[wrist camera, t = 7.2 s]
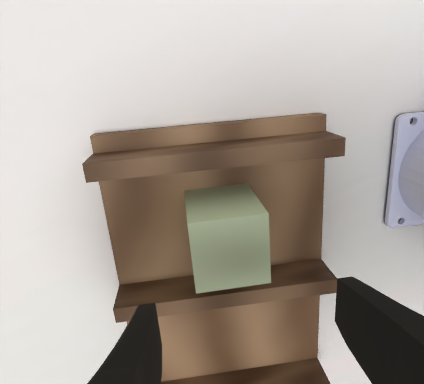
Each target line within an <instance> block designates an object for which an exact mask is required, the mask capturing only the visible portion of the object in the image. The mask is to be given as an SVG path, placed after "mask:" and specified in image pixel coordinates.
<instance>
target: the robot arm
mask: <svg viewBox="0 0 424 384" xmlns="http://www.w3.org/2000/svg"><path fill="white" fill-rule="evenodd" d="M411 118H413V122H412V123H411V124H410V119H411ZM400 218H401V220H400V221H399V222H398V220H399V219H400ZM385 224H386V225H387V226H389V227H390V228H397V227H405V226H413V225H422V224H424V112H414V113H403V114H400V115H399V116H398V117H397V118H396V121H395V129H394V139H393V148H392V158H391V167H390V177H389V186H388V196H387V205H386V215H385ZM335 322H336V324H337V326H338V328H339V330H340V332H341V335H342V337H343V338H344V340H345V342H346V344H347V346H348V348H349V349H350V351H351V352H352V354H353V355H354V357H355V358H356V360H357V362H358V363H359V365H360V366H361V368H362V369H363V371H364V372H365V374H366V375H367V377H368V378H369V380H370V381H371V383H372V384H424V316H423V315H421V314H419V313H417V312H415V311H413V310H411V309H409V308H407V307H405V306H404V305H402V304H400V303H398V302H396V301H394V300H393V299H391V298H389V297H387V296H386V295H384V294H382V293H380V292H379V291H377V290H375V289H374V288H372V287H370V286H368V285H367V284H365V283H363V282H361V281H360V280H358V279H356V278H354V277H346V278H338V279H337V293H336V311H335ZM161 378H162V341H161V335H160V329H159V322H158V316H157V310H156V304H155V303H149V304H141V305H139V306H138V307H137V308H136V310H135V312H134V314H133V316H132V318H131V320H130V322H129V323H128V325H127V327H126V329H125V330H124V332H123V334H122V335H121V337H120V339H119V340H118V342H117V343H116V345H115V347H114V348H113V350H112V351H111V352H110V354H109V355H108V357H107V358H106V360H105V361H104V363H103V364H102V365H101V367H100V368H99V369H98V371H97V372H96V373H95V375H94V376H93V377H92V379H91V380H90V381H89V382H88V383H87V384H161Z"/></svg>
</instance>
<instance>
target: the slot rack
mask: <svg viewBox="0 0 424 384" xmlns="http://www.w3.org/2000/svg"><path fill="white" fill-rule="evenodd" d="M90 139H91V144H92V149H93V154H92V155H91V156H90V157H89V158H88V159H87V160H86V161H85V162H84V163H83V164H82V165H83V170H84V174H85V179H86V183H88V182H97V181H99V184H100V189H101V194H102V199H103V204H104V209H105V214H106V219H107V224H108V229H109V234H110V239H111V244H112V249H113V254H114V259H115V265H116V270H117V275H118V280H119V289H118V293H117V296H116V300H115V304H114V308H113V311H114V315H115V320H116V323H117V322H125V321H127V325H128V323H129V322H130V320H131V318H132V316H133V314H134V312H135V310H136V308H137V307H138V306H139V305H141V304H149V303H155V304H156V310H157V316H158V322H159V329H160V335H161V341H162V378H161V384H330V382H329V380H328V378H327V376H326V374H325V372H324V370H323V368H322V366H321V364H320V362H319V360H318V358H317V353H318V326H319V299H320V295H322V294H330V293H337V278H336V277H335V276H334V274H333V273H332V272H331V271H330V270H329V268H328V267H327V266H326V265H325V263H324V262H323V261H322V260H321V245H322V218H323V190H324V163H325V158H329V157H338V156H344V155H345V138H344V137H341V136H339V135H336V134H333V133H330V132H327V131H326V114H322V113H312V114H301V115H290V116H280V117H269V118H258V119H247V120H236V121H226V122H215V123H204V124H193V125H182V126H172V127H161V128H150V129H139V130H128V131H118V132H107V133H96V134H93V135H91V136H90ZM244 183H248V185H249V186H250V188H251V189H252V190H253V192H254V193H255V195H256V196H257V198H258V199H259V200H260V202H261V203H262V205H263V206H264V208H265V209H266V210H267V212H268V213H269V236H270V265H271V283H267V284H260V285H253V286H246V287H239V288H232V289H225V290H218V291H211V292H204V293H197V294H196V290H195V282H194V274H193V266H192V258H191V250H190V242H189V234H188V226H187V216H186V205H185V194H184V191H186V190H194V189H202V188H211V187H219V186H228V185H236V184H244Z"/></svg>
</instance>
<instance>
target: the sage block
mask: <svg viewBox="0 0 424 384" xmlns="http://www.w3.org/2000/svg"><path fill="white" fill-rule="evenodd" d="M184 194H185V205H186V216H187V226H188V234H189V242H190V250H191V258H192V266H193V274H194V282H195V290H196V294H197V293H204V292H211V291H218V290H225V289H232V288H239V287H246V286H253V285H260V284H267V283H271V265H270V236H269V213H268V212H267V210H266V209H265V208H264V206H263V205H262V203H261V202H260V200H259V199H258V198H257V196H256V195H255V193H254V192H253V190H252V189H251V188H250V186H249V185H248V183H244V184H236V185H228V186H219V187H211V188H202V189H194V190H186V191H184Z"/></svg>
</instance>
